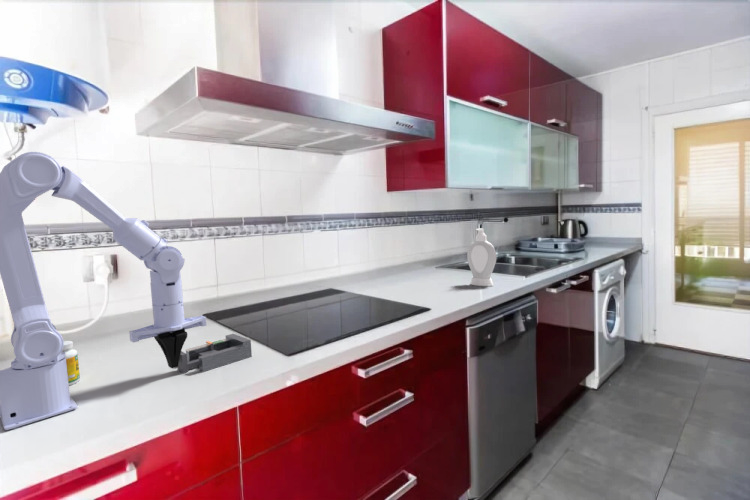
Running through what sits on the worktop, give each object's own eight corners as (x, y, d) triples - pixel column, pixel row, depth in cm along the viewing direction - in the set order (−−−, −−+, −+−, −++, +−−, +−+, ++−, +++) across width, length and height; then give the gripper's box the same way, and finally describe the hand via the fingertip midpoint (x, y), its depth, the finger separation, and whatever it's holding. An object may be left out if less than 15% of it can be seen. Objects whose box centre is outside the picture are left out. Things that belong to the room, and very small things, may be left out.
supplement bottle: (49, 384, 81) (44, 344, 81) (77, 376, 85) (73, 338, 84) (53, 390, 78) (48, 348, 77) (82, 382, 82) (78, 342, 81)
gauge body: (202, 372, 85) (201, 353, 84) (186, 363, 90) (185, 346, 90) (251, 356, 93) (250, 339, 93) (234, 349, 99) (233, 333, 98)
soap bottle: (462, 285, 171) (461, 228, 169) (469, 283, 177) (469, 228, 175) (492, 288, 163) (491, 228, 161) (498, 285, 169) (498, 227, 167)
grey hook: (184, 373, 84) (183, 355, 84) (172, 366, 88) (171, 349, 88) (223, 361, 90) (222, 345, 90) (210, 355, 94) (209, 339, 94)
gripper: (135, 313, 75) (141, 382, 76) (210, 298, 86) (215, 360, 87) (123, 308, 80) (130, 373, 81) (196, 295, 90) (201, 353, 92)
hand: (173, 366), depth 84 cm, fingers closed
